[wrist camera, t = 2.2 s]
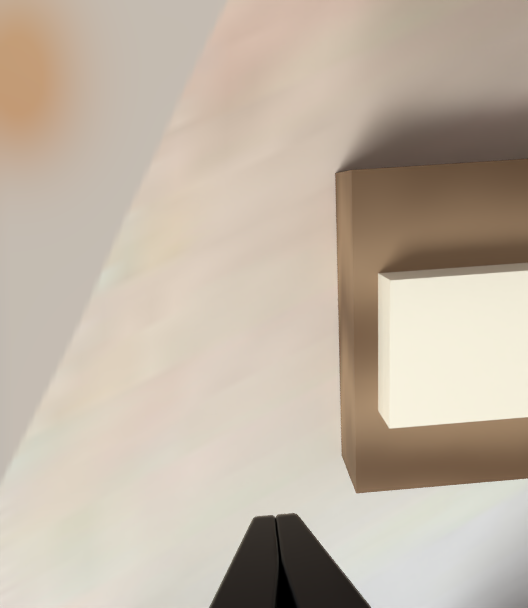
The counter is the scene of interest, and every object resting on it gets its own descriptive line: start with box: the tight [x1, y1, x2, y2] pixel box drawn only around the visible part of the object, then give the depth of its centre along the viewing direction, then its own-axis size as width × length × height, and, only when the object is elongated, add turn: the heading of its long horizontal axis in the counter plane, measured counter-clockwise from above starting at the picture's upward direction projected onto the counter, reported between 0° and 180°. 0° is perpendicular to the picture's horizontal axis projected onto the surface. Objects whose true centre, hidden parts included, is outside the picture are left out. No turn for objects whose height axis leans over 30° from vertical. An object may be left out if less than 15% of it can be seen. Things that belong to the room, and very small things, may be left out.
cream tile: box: [378, 263, 528, 429], centre depth 18 cm, size 6×8×2 cm
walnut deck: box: [335, 159, 528, 493], centre depth 20 cm, size 14×12×3 cm
